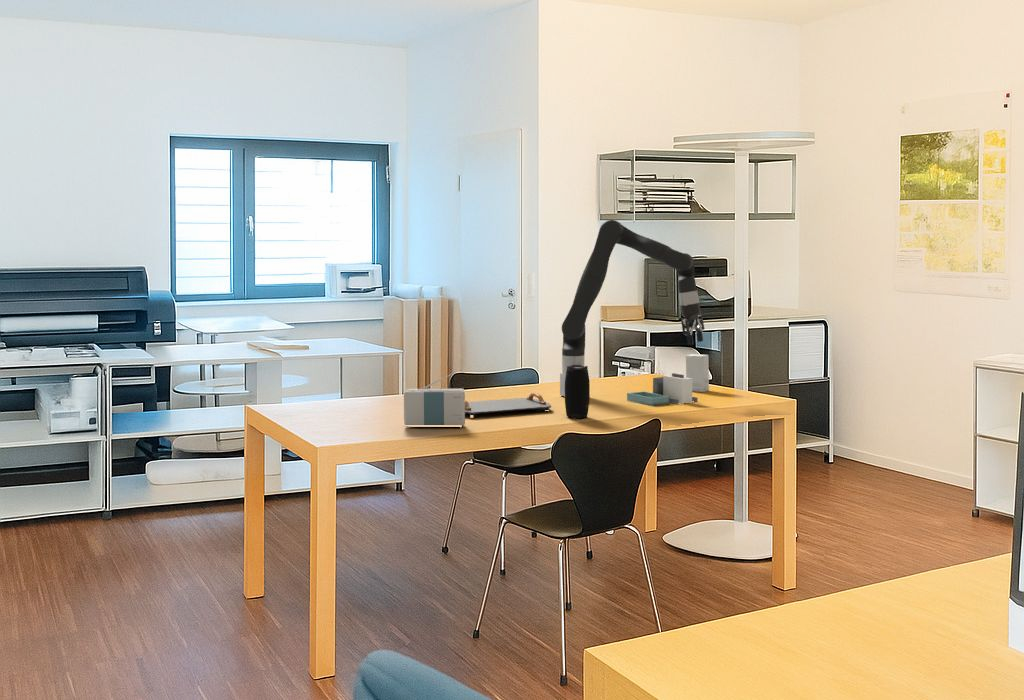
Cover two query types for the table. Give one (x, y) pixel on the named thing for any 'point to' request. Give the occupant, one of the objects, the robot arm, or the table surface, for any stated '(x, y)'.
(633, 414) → the table surface
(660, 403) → the tray
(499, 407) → the serving board
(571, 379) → the portable speaker
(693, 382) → the skincare box
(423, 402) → the stereo radio cassette player
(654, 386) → the bay
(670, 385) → the light grey block
